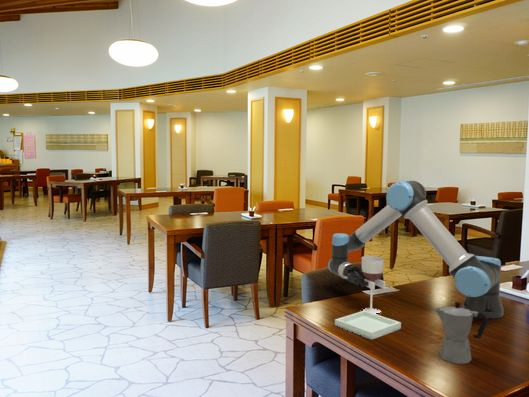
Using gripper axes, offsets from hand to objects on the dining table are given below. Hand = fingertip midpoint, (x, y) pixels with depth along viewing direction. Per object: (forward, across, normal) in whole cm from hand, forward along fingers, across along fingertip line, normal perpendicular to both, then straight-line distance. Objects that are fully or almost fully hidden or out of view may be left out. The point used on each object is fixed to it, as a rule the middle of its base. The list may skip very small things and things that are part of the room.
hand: (379, 285), depth 183 cm
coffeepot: (+43, -2, -12) cm, 45 cm away
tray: (+10, +11, -12) cm, 20 cm away
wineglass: (-5, 0, -12) cm, 13 cm away
